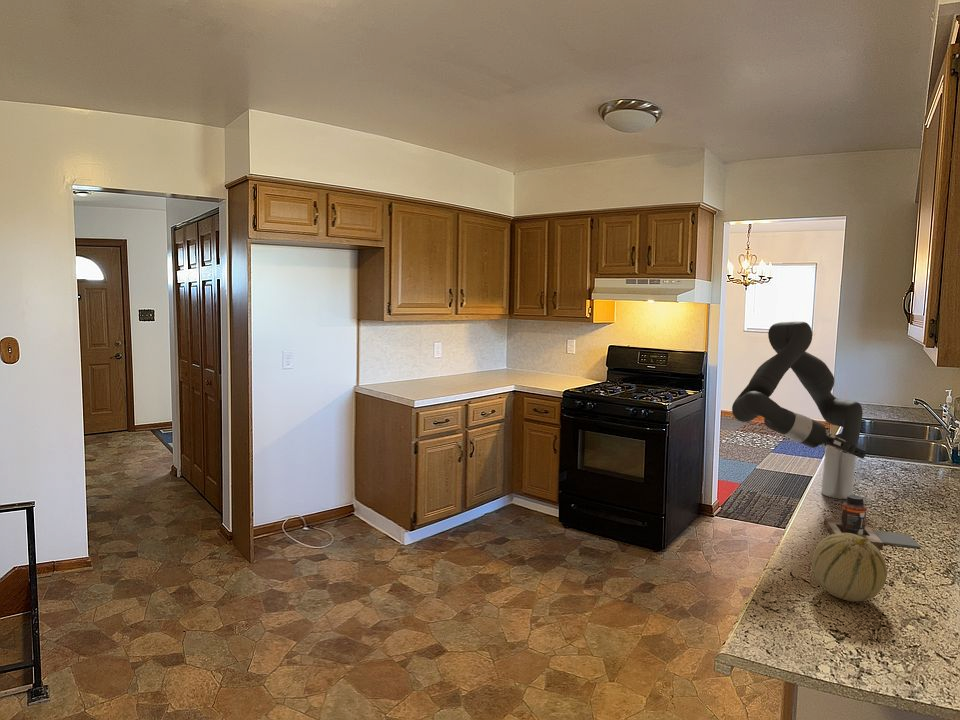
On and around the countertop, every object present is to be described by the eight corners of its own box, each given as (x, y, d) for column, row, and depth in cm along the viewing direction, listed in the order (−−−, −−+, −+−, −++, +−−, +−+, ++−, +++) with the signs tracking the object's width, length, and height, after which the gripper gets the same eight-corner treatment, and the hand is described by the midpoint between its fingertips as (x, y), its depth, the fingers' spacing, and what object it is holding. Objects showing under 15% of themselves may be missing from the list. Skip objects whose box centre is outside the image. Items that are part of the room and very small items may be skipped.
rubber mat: (872, 532, 183) (872, 530, 183) (908, 536, 180) (908, 534, 180) (882, 543, 174) (882, 542, 174) (920, 548, 172) (920, 546, 172)
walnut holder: (824, 522, 190) (824, 517, 189) (865, 527, 187) (865, 522, 186) (837, 542, 174) (838, 537, 174) (882, 548, 171) (883, 542, 171)
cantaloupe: (816, 576, 153) (822, 517, 151) (887, 595, 144) (894, 533, 142) (802, 598, 142) (807, 534, 140) (878, 621, 133) (885, 553, 131)
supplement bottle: (867, 539, 177) (871, 501, 176) (844, 537, 178) (847, 499, 177) (859, 532, 183) (862, 494, 181) (836, 530, 184) (840, 492, 183)
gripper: (821, 420, 172) (876, 444, 171) (796, 414, 186) (847, 436, 185) (809, 445, 172) (864, 469, 172) (786, 438, 186) (837, 460, 186)
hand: (855, 452), depth 178 cm, fingers open, 8 cm apart
